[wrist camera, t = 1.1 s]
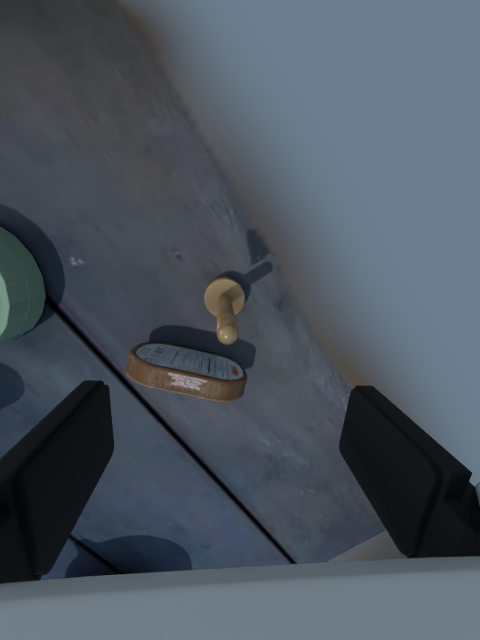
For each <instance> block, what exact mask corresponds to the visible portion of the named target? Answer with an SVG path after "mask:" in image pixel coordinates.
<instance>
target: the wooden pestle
mask: <svg viewBox="0 0 480 640" xmlns="http://www.w3.org/2000/svg"><path fill="white" fill-rule="evenodd" d="M204 302H205V306H206V308H207V309H208V311H209V312H210V313H211V314H212V315H214V316H216V317H217V338H218V340H219V341H220V342H221V343H223V344H226V345H230V344H233V343H234V342H235V341H236V340H237V339H238V335H239V332H238V327H237V323H236V318H235V315H237V314H238V313H239V312H240V311H241V310H242V308H243V306H244V302H245V295H244V292H243V289H242V288H241V286H240V284H239V283H238V282H237V281H236V280H235V279H233V278H231V277H227V276H221V277H217V278H215V279H213V280H212V281H211V282H210V283H209V285H208V286H207V289H206V292H205V295H204Z"/></svg>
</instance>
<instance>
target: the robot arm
mask: <svg viewBox="0 0 480 640" xmlns="http://www.w3.org/2000/svg"><path fill="white" fill-rule="evenodd" d="M339 448H340V452H341V455H342V456H343V458H344V460H345V461H346V463H347V465H348V466H349V468H350V470H351V471H352V473H353V475H354V476H355V478H356V480H357V481H358V483H359V485H360V486H361V488H362V490H363V491H364V493H365V495H366V496H367V498H368V500H369V501H370V503H371V505H372V506H373V508H374V510H375V511H376V513H377V515H378V516H379V518H380V520H381V521H382V523H383V525H384V526H385V528H386V530H387V531H388V533H389V535H390V536H391V538H392V540H393V541H394V543H395V545H396V546H397V548H398V549H399V551H400V552H401V553H402V554H404V555H406V556H407V558H408V559H389V560H369V561H348V562H327V563H308V564H290V565H271V566H253V567H235V568H218V569H200V570H184V571H168V572H151V573H135V574H119V575H103V576H87V577H75V578H63V579H51V580H40V578H41V576H42V575H46V574H47V573H49V571H50V570H51V569H52V567H53V565H54V564H55V562H56V560H57V558H58V556H59V554H60V552H61V550H62V549H63V547H64V545H65V543H66V541H67V539H68V537H69V535H70V534H71V532H72V530H73V528H74V526H75V524H76V522H77V520H78V519H79V517H80V515H81V513H82V511H83V509H84V507H85V505H86V503H87V502H88V500H89V498H90V496H91V494H92V492H93V490H94V488H95V487H96V485H97V483H98V481H99V479H100V477H101V475H102V473H103V472H104V470H105V468H106V466H107V464H108V462H109V460H110V458H111V456H112V454H113V450H114V439H113V428H112V416H111V405H110V394H109V387H108V385H104V382H103V381H91V380H86V381H83V382H82V383H81V384H80V385H79V386H78V387H76V388H75V389H74V390H73V391H72V392H71V393H70V394H69V395H68V396H67V397H66V398H65V399H64V400H63V401H62V402H60V403H59V404H58V405H57V406H56V407H55V408H54V409H53V410H52V411H51V412H50V413H49V414H48V415H47V416H46V417H45V418H43V419H42V420H41V421H40V422H39V423H38V424H37V425H36V426H35V427H34V428H33V429H32V430H31V431H30V432H29V433H27V434H26V435H25V436H24V437H23V438H22V439H21V440H20V441H19V442H18V443H17V444H16V445H15V446H14V447H13V448H12V449H10V450H9V451H8V452H7V453H6V454H5V455H4V456H3V457H2V458H1V459H0V640H480V482H479V483H478V484H477V485H476V487H474V486H473V485H472V484H471V483H470V482H469V480H470V477H471V475H472V472H470V471H469V470H468V469H467V468H466V467H465V466H464V465H462V464H461V463H460V462H459V461H458V460H457V459H456V458H454V457H453V456H452V455H451V454H450V453H449V452H448V451H446V450H445V449H444V448H443V447H442V446H441V445H439V444H438V443H437V442H436V441H435V440H434V439H433V438H432V437H430V436H429V435H428V434H427V433H426V432H425V431H424V430H422V429H421V428H420V427H419V426H418V425H417V424H415V423H414V422H413V421H412V420H411V419H410V418H409V417H407V416H406V415H405V414H404V413H403V412H402V411H401V410H400V409H398V408H397V407H396V406H395V405H394V404H393V403H392V402H390V401H389V400H388V399H387V398H386V397H385V396H384V395H382V394H381V393H380V392H379V391H378V390H376V389H375V388H374V387H373V386H356V387H355V388H354V389H353V390H351V393H350V397H349V402H348V406H347V411H346V416H345V420H344V425H343V429H342V434H341V438H340V443H339Z"/></svg>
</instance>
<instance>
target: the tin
mask: <svg viewBox="0 0 480 640" xmlns="http://www.w3.org/2000/svg"><path fill="white" fill-rule="evenodd" d="M125 372H126V374H127V376H128V377H129V378H130V379H131V380H133V381H134V382H136V383H138V384H140V385H143V386H146V387H150V388H154V389H159V390H164V391H169V392H174V393H179V394H184V395H188V396H193V397H198V398H203V399H207V400H212V401H218V402H229V401H234V400H237V399H239V398H241V397H242V395H243V394H244V388H245V384H246V381H247V374H246V372H245V370H244V368H243V367H242V366H241V365H240V364H238V363H237V362H235V361H233V360H231V359H229V358H226V357H223V356H220V355H216V354H212V353H207V352H203V351H199V350H195V349H191V348H186V347H182V346H178V345H173V344H168V343H162V342H147V343H142V344H139V345H137V346H136V347H134V348H133V349H132V350H131V351H130V353H129V357H128V362H127V365H126V367H125Z"/></svg>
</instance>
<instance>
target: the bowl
mask: <svg viewBox="0 0 480 640" xmlns="http://www.w3.org/2000/svg"><path fill="white" fill-rule="evenodd" d="M45 298H46V294H45V288H44V281H43V276H42V274H41V272H40V270H39V268H38V266H37V264H36V262H35V260H34V258H33V256H32V254H31V253H30V252H29V251H28V250H27V249H26V248H25V246H24V245H23V244H22V243H21V242H20V241H19V240H18V239H17V238H16V237H15V236H14V235H12V234H11V233H10V232H8V231H7V230H5V229H4V228H2V227H1V226H0V346H1V345H4V344H6V343H8V342H11V341H13V340H15V339H17V338H19V337H21V336H22V335H24V334H25V333H27V332H28V331H30V330H31V329H32V328H33V327H34V326H35V324H36V323H37V321H38V320H39V318H40V317H41V315H42V313H43V308H44V303H45Z"/></svg>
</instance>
